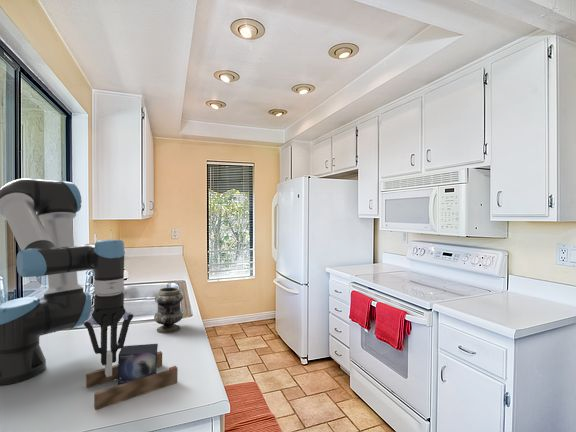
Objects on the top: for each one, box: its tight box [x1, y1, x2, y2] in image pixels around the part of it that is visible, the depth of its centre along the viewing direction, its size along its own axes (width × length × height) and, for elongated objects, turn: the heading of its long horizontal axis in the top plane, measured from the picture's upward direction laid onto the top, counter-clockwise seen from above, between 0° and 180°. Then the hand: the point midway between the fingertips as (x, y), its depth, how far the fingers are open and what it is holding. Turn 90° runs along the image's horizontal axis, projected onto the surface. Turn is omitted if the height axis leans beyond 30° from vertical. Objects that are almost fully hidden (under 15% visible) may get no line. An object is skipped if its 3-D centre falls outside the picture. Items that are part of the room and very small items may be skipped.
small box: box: [116, 343, 159, 386], centre depth 99 cm, size 11×6×10 cm, turn 107°
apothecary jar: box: [153, 286, 184, 334], centre depth 144 cm, size 12×12×18 cm
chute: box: [85, 350, 178, 411], centre depth 98 cm, size 22×15×5 cm
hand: (108, 374), depth 94 cm, fingers closed
